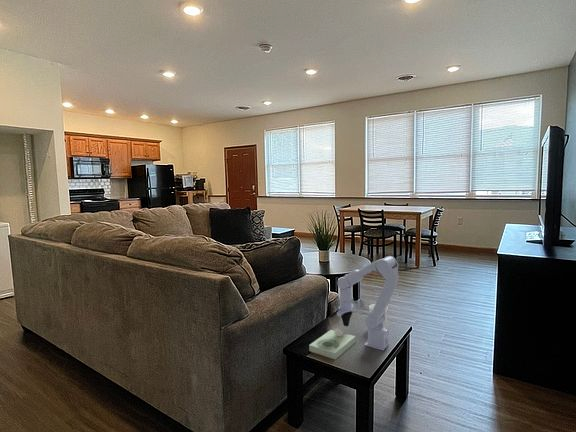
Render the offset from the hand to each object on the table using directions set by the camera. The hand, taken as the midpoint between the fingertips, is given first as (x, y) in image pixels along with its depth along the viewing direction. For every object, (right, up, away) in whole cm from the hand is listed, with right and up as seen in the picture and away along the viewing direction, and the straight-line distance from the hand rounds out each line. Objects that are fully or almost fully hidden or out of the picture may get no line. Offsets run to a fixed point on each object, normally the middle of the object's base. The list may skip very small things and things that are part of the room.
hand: (346, 325), depth 174 cm
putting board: (-8, -7, -10) cm, 15 cm away
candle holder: (+19, -4, +8) cm, 21 cm away
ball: (-5, -1, -6) cm, 8 cm away
